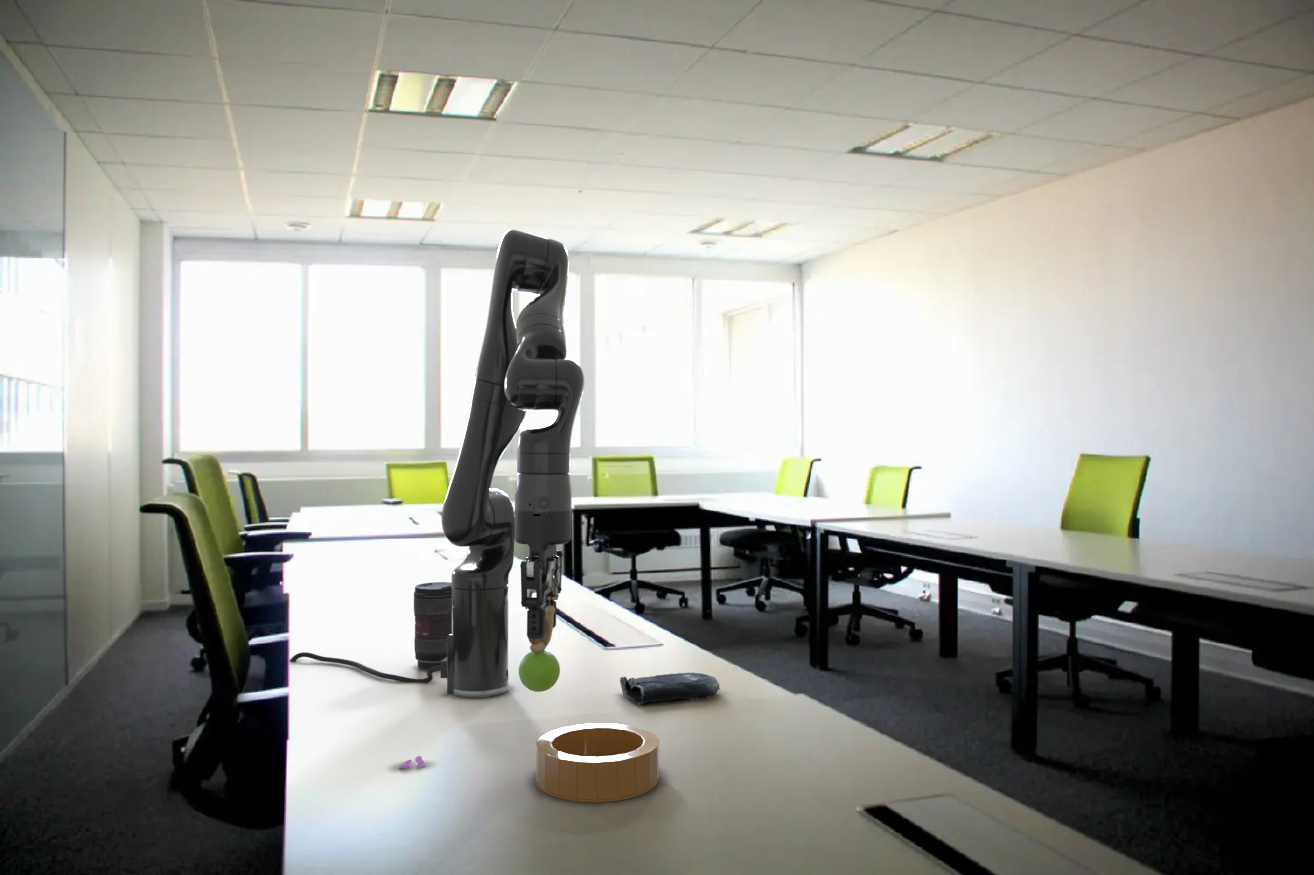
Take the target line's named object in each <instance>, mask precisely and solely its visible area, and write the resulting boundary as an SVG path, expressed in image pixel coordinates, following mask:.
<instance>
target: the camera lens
mask: <svg viewBox="0 0 1314 875" xmlns="http://www.w3.org/2000/svg"><path fill="white" fill-rule="evenodd" d="M451 604H452V582H451V581H450V582H449V581H435V582H432V581H431V582H425V583H420V584H416V585H415V586H414V591H413V615H414V658H415V660H416V661H417V668H418V669H420V670H423V671H428V670H429V669H430V668H431V667H434V666H439V665H440V661H441V660H443V659H444V658H446V657H447V637H448V635H449V634H451V618H452V605H451Z"/></svg>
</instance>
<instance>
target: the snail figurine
mask: <svg viewBox="0 0 1314 875" xmlns="http://www.w3.org/2000/svg"><path fill="white" fill-rule="evenodd" d="M548 600H549V606H547V607H546V610H545V612H546V615H545V636H544V637H543V638H542V639H530V638H528V637H527V639H528V641H529V643H530V646H529V649H530V652H528V653H526V654H525V655H524V657H523V658H522V659H521V660H520V663H519V665H518V677H519V680H520V682H521V683H522V685H523V686H524V687H525V688H526V689H528V690H529V691H531V692H535V693H541V692H545V691H548V690H550V689H551V688H553V687H554V686H555V685H556V684H557V682H558V680H559V677H560V672H561V667H560V662H559V660H558V659H557V657H556V656H555V655H554V654H553V653H552V652H551V651H549V650H546V648H547V647H548V645H549V644H550V642H551V640H552V635H553V630H554V628H553V624H554V613H555V608H554V605H553V606H552V605H550V600H551V597H550V596H549V597H548ZM552 600H553V601H557V600H556V598H555V597H552Z"/></svg>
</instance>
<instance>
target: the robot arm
mask: <svg viewBox="0 0 1314 875" xmlns="http://www.w3.org/2000/svg"><path fill="white" fill-rule="evenodd" d="M569 260H570V259H569V253H568V250H567V247H566V246H565V245H564V244H563V243H562V242H560V241H558V240H556V239H553V238H550V237H545V236H541V235H536V234H533V233H529V232H525V231H522V230H516V229H508V230H506V232H504V234H503V235H502V237H501V239H500V241H499V245H498V248H497V253H496V259H495V265H494V270H493V278H492V286H491V292H490V299H489V306H488V311H487V312H488V314H487V318H486V325H485V330H484V335H483V339H482V340H483V341H482V344H481V348H480V352H479V357H478V361H477V366H476V370H475V374H474V377H473V378H474V379H473V383H472V387H471V394H470V399H469V405H468V412H467V416H466V420H465V425H464V430H463V434H462V438H461V443H460V447H459V452H458V455H457V459H456V463H455V466H454V469H453V472H452V475H451V479H450V482H449V485H448V488H447V491H446V494H445V498H444V502H443V505H442V510H441V527H442V531H443V534H444V537H445V539H447V541H449V542H450V543H451V544H452V545H453V546H456V547H462V548H466V547H468V552H467V554H466V556H465V558H464V559H463V561H462V562H461V563H459V565H457V566H456V567H455V568H454V569H453V570H452V573H451V583H452V604H451V605H452V618H451V634H449V635H448V637H447V657H446V658H444V659H443V660H441V661H440V665H439V666H434V667H431V668H430V669H429V670H426V677H424V678H412V677H407V676H402V675H397V674H392V673H386V672H382V671H379V670H376V669H374V668H372V667H368V666H366V665H364V664H362V663H361V662H357V661H354V660H349V659H344V658H338V657H330V656H323V655H319V654H315V653H312V652H307V651H306V652H305V651H303V652H298V653H296V654H294V655H293V656H292V657H291V658H290V660H289V662H296V661H297V660H298V659H301V658H309V659H313V660H316V661H319V662H325V663H332V664H333V663H334V664H341V665H346V666H350V667H353V668H357V669H359V670H360V671H363V672H365V673H367V674H371V675H373V676H375V677H377V678H381V679H385V680H392V681H396V682H402V683H412V684H429V683H430V682H432V681H433V679H434V675H433V673H436V672H440V674H439V677H440V679H446V695H452V696H457V697H461V698H470V699H471V698H472V699H473V698H475V699H477V698H478V699H479V698H489V697H495V696H499V695H502V694H505V693H507V692H508V691H509V689H510V682H509V579H510V578H509V577H510V574H511V572H512V569H513V566H514V558H515V542H516V543H517V544H519V545H527V546H528V553H527V554H528V555H527V557H525V558H524V560H521V561H520V565H519V568H520V595H521V597H520V598H521V600H520V604H521V607H522V608H524V609H525V610H526V637H527V639H528V638H530V639H542V638H543V637H544V636H545V615H546V612H545V610H546V607H547V606H549V600H548V597H549V596H550V597H551V600H550V605H552V606H553V605H554V608H555V613H554V624H553V629H554V628H556V626H557V601H558V600H559V597H560V594H561V592H562V579H563V578H562V577H563V576H562V575H563V573H562V571H563V556H564V553H563V550H561V549H557V545H566V544H568V543H570V542H571V540H572V505H573V504H572V503H573V502H572V501H573V500H572V493H573V492H572V491H573V490H572V483H571V482H572V481H571V474H570V473H571V443H572V435H573V429H574V425H575V421H576V417H577V413H578V410H579V407H580V404H581V400H582V397H583V394H584V389H585V383H586V381H585V380H586V379H585V374H584V371H583V369H582V367H581V365H580V364H579V363H578V361H576V360H574V359H571V358H567V352H568V345H567V337H566V328H565V310H566V303H567V302H566V301H567V295H568V294H567V293H568V281H569V280H568V279H569V266H570V265H569V264H570V262H569ZM513 291H516V292H521V293H525V294H530V295H534V296H536V297H535V298H533V299H532V300H530V301H529V302H528V303H527V304H525V306H524V308H522V310H521V311H520V313H519V314H518V317H517V319H516V320H515V318H514V312H513V311H514V310H513ZM515 321H516V322H515ZM528 411H548V412H549V411H551V412H552V411H555V412H556V416H555V419H554V420H553V421H552V422H551V423H549V424H546V425H543V426H539V427H533V428H529V429H524V430H522V431H521V432H520V433H519V435H518V438H517V454H516V455H517V459H516V460H517V461H516V462H517V466H516V467H517V468H516V473H517V474H516V482H515V488H514V489H515V490H514V505H513V503H512V501H511V499H510V497H509V495H508V494H507V493H506V492H504V491H503V490H500V489H498V488H491V487H492V482H493V477H494V474H495V471H496V468H497V465H498V463H499V461H500V459H501V457H502V455H503V454H504V452H505V451H506V449H507V448H508V446H509V445H510V443H511V442H512V441H513V439H514V438H515V436H516V434H517V433H518V432H519V430H520V428H521V426H522V424H523V422H524V420H525V417H526V414H527V412H528ZM534 593H535V594H536V597H535V596H534V597H533V594H534ZM552 597H555V598H556V600H555V601H553V600H552Z"/></svg>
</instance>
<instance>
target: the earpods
mask: <svg viewBox="0 0 1314 875" xmlns="http://www.w3.org/2000/svg"><path fill="white" fill-rule="evenodd" d="M412 761H413V760H412V759H408V760H406V761H404V762H403V763H401V764H400V765H399V766H398V769H408V768H409V766H410V764H411V763H412ZM414 761H415V762H416V763H417V766H418V767H419V768H425V766H426V763H425V761H424V759H423V757H422V756H421V755H417V756H416V757H415V759H414Z"/></svg>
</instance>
